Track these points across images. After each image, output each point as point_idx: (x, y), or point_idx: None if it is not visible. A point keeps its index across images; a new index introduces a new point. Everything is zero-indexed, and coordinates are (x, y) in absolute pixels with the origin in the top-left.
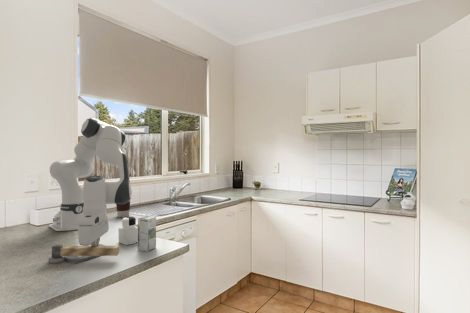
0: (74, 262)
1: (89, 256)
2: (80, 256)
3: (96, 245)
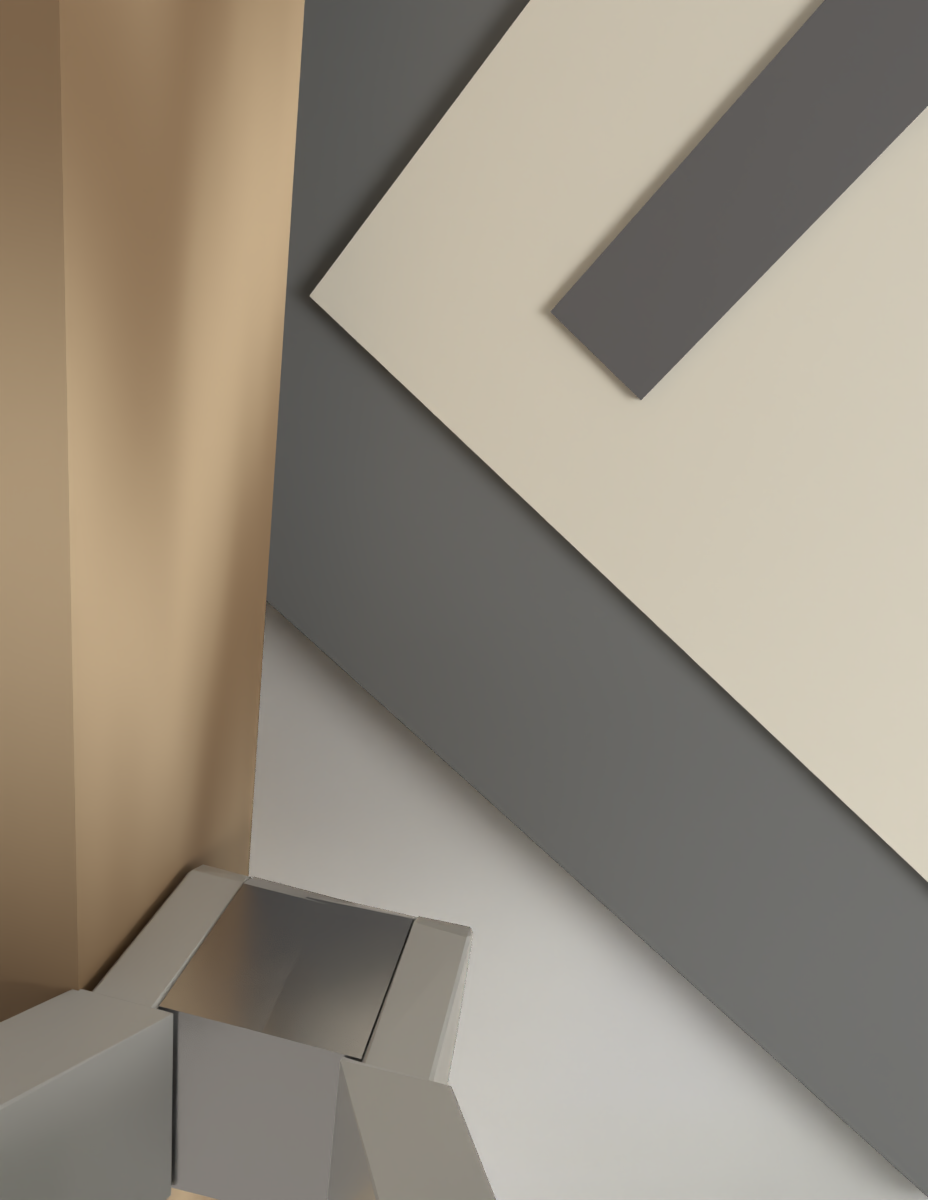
0: None
1: (342, 642)
2: (339, 326)
3: (143, 1184)
